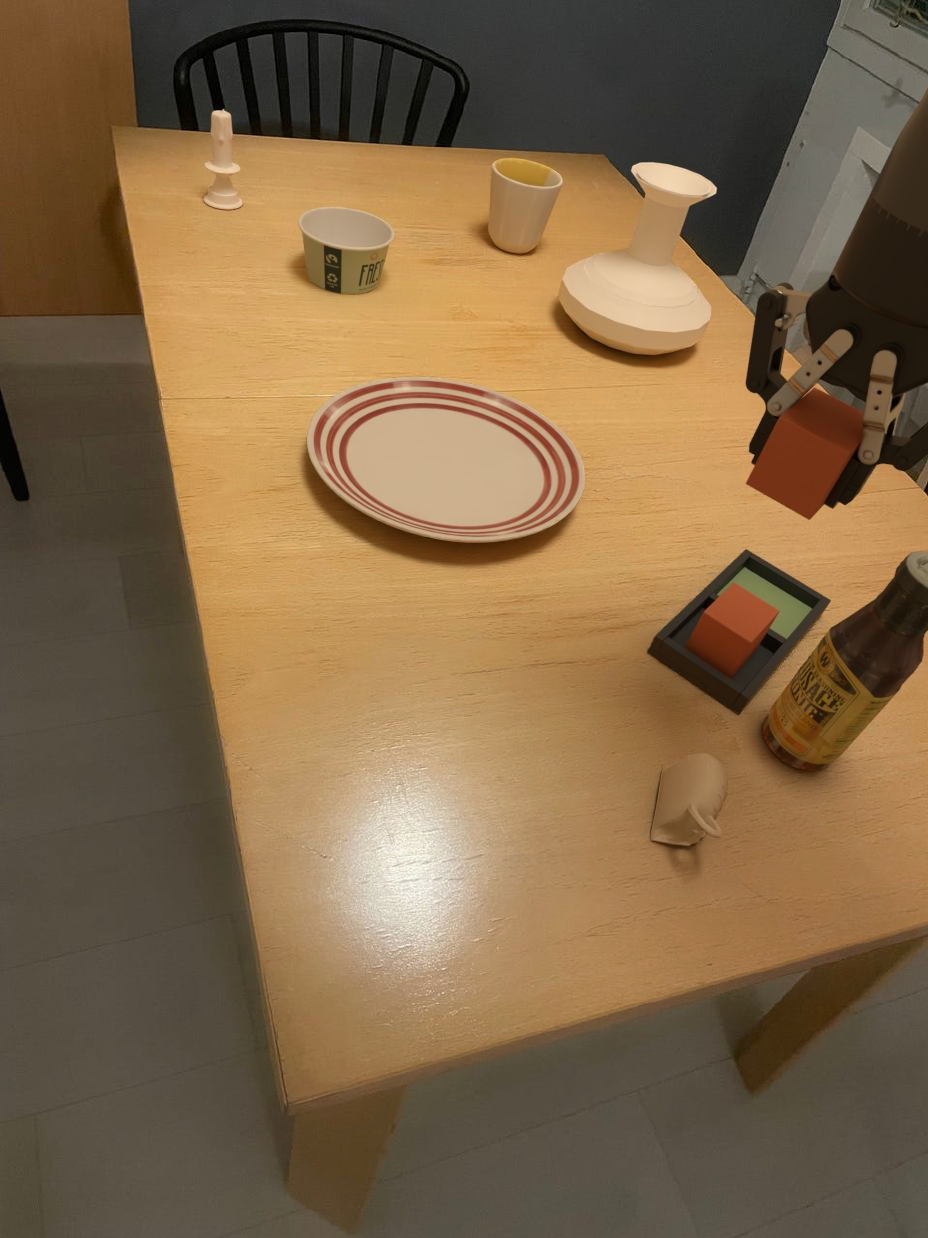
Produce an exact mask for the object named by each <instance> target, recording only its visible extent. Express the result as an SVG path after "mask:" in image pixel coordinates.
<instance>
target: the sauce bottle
mask: <svg viewBox="0 0 928 1238" xmlns="http://www.w3.org/2000/svg"><path fill="white" fill-rule="evenodd" d="M927 632H928V551H926V550H917V551H913V552H910V553H909V554H907V556H906V557H904V558H903V560H902V561H901V562H900V563H899V565H898V566H897V567H896V569H895V572H894V576H893V578H891V580H890V581H889V582H888V584H886V586H885V588H884V589H883V590H882V592H880V593H878V595H877V596H876V598H875V599H873V600H871V601H870V602H868V603H867V604H865V605H864V606H861V608H859V609H858V610H856V611H854V612H853V613H852V614H850V615H849V616H847V617H845V618H844V619H842V620H841V621H839V622H838V623H836V624H834V625H833V626H831V627H830V628H829V629H828V631H827V632H826V633H825V634H824V636H823V637H822V638H821V640H820V641H819V643H818V644H817V645H816V647H815V648H814V649H813V651H811V653H810V655H808V657H807V658H806V660H805V662H804V663H803V664H802V665H801V666H800V668H799V669H798V670H797V671H796V673H795V674H794V676H793V677H792V679H791V680H790V681H789V683H788V684H787V685H786V687H785V688H784V689H783V690H782V692H781V693H780V695H779V696H778V698H777V699H776V700H775V701H774V702H773V704H772V705H771V707H770V709H769V712H768V713H767V715H766V717H765V719H764V723H763V733H762V734H763V737H764V741H765V743H766V744H767V746H768V748H769V749H770V750H771V752H772V753H773V754H774V755H775V756H777V758H778V759H779V760H780V761H781V762H782V763H784V764H785V765H787V766H788V767H791V768H796V769H800V770H801V771H802V770H803V771H807V772H815V771H819V770H822V769H825V768H826V767H828V766H829V765H831V764H832V763H834V762H835V761H837V760H838V759H839V758H840V757H841V756H842V755H843V753H845V751H846V750H847V749H848V748H849V747H850V746H851V745H852V744H853V742H854V741H855V740H856V739H857V738H859V736H860V735H861V734H862V733H863V732H864V731H865V730H866V728H867V727H868V726H869V725H870V724H871V722H872V721H873V720H875V718H877V716H878V715H879V714H880V713H881V712H882V711H883V709H884V708H885V707H886V706H887V705H888V704H889V703H890V702H891V701H892V699H893V698H895V696H896V695H897V694H898V692H899V691H900V690H901V688H902V686H903V685H904V684H905V682H907V680H908V679H909V678H910V677H911V676H912V675H914V673H915V672H916V671H917V669H918V667H919V666H920V664H921V663H922V662H923V658H924V651H925V650H924V647H925V646H924V645H925V641H924V640H925V635H926V633H927Z"/></svg>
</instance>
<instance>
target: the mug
mask: <svg viewBox="0 0 928 1238" xmlns="http://www.w3.org/2000/svg"><path fill="white" fill-rule="evenodd" d="M563 184H564V179H563V177H562V175H561V174H560V173H559V172H557V171H556V170H555V169H553V168H551V167H549V166H547V165H544V164H542V163H539V162H536V161H533V160H529V159H524V158H517V157H505V158H499V159H496V160H494V161H493V162H492V164H491V172H490V185H489V186H490V189H489V208H488V210H489V212H488V213H489V214H488V223H487V224H488V225H487V231H488V235H489V237H490V238H491V241H492V243H493V244H494V245H495V246H496V248H498V249H500V250H502V251H505V252H507V253H511V254H516V255H517V254H518V255H520V254H521V255H522V254H527V253H528V252H530V251H532V250H533V249H534V248H536V247H537V246H538V245H539V244H540V242H541V240H542V238H543V235H544V233H545V230H546V228H547V227H546V226H547V224H548V222H549V219H550V217H551V214H552V212H553V209H554V207H555V204H556V202H557V199H558V197H559V194H560V192H561V188H562V186H563Z"/></svg>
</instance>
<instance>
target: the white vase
mask: <svg viewBox="0 0 928 1238" xmlns="http://www.w3.org/2000/svg"><path fill="white" fill-rule="evenodd" d="M630 172H631V174H632V175H633V176H634V178H635V180H636V181H637V182H638V184H639V185H640V188H641V189H642V190H643V192H644V193H645V195H644V197H643V200H642V204H641V208H640V211H639V214H638V217H637V220H636V224H635V227H634V230H633V234H632V236H631V239H630V243H629V246H628V247H625V248H619V249H615V250H610V251H604V252H600V253H596V254H593V255H592V256H589V257H586V258H583V259H581V260H578V261H577V262H575V263H573V264H570V265H569V266H568V267H566V269H565V272H564V274H563V276H562V279H561V282H560V286H559V289H558V293H557V299H559V303H560V304H561V306H562V308H563V310H564V312H565V313H566V314H567V316H568V317H569V318H570V319H571V320H572V322H573V323H574V324H575V325H576V327H577V328H578V329H580V330H581V331H582V332H583V333H585V334H586V335H587V336H588V337H589V338H590V339H592V340H594V341H596V342H599V343H601V344H603V345H604V346H606V347H609V348H611V349H615V350H619V351H623V352H625V353H629V354H632V355H633V354H634V355H648V356H657V355H663V354H669V353H673V352H676V351H680V350H684V349H688V348H691V347H693V346H694V345H695V344H696V343H698V342H699V341H700V340H701V339H702V338H704V336H705V334H706V331H707V329H708V326H709V324H710V321H711V317H712V309H713V308H712V307H713V306H712V305H711V303H709V301H708V300H707V299H706V297H705V296H704V294H703V293H702V291H701V290H700V288H699V287H698V286H697V283H696V282H695V281H694V279H692V278H691V277H690V276H689V275H688V274H687V273H686V272H685V271H683V270H682V269H681V268H680V267H679V266H678V265H677V264H676V263H675V262H674V261H673V260H672V259H673V256H674V252H675V250H676V247H677V244H678V241H679V239H680V236H681V232H682V229H683V226H684V223H685V221H686V219H687V215H688V212H689V209H690V206H692V205H694V204H697V203H699V202H702V201H704V200H706V199H708V198H710V197H712V196H714V195H716V194H717V190H718V188H717V186H716V185H715V184H714V183H713V181H711V180H709V179H707V178H706V177H705V176H703V175H701V174H699V173H697V172H695V171H692V170H689V169H687V168H684V167H680V166H677V165H672V164H668V163H661V162H653V161H651V162H649V161H648V162H638V163H636V164H634V165H632V167H631V169H630Z"/></svg>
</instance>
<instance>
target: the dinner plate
mask: <svg viewBox="0 0 928 1238" xmlns="http://www.w3.org/2000/svg"><path fill="white" fill-rule="evenodd" d="M306 447H307V453H308V456H309V459H310V462H311V465H312V466H313V468H314V470H315V471H316V473H317V474H318V477H319V478H320V479H321V480H322V481H323V482H324V484H325V485H326V486H327V487H328V488H329V489H330V490H331V491H332V492H334V493H335V495H337V496H338V497H339V498H340V499H341V500H343V501H344V502H346V503H347V504H348V505H350V506H352V507H353V508H354V509H356V510H358V511H359V512H361V513H363V514H364V515H366V516H368V517H370V518H371V519H374V520H376V521H379V522H381V523H383V524H385V525H387V526H389V527H392V528H395V529H397V530H399V531H400V530H401V531H403V532H406V533H410V534H413V535H417V536H421V537H425V538H431V539H435V540H440V541H448V542H456V543H457V542H458V543H470V544H471V543H472V544H473V543H475V544H477V543H478V544H482V543H495V542H504V541H510V540H516V539H521V538H524V537H528V536H531V535H534V534H537V533H539V532H542V531H544V530H546V529H548V528H551V527H553V526H555V525H556V524H557V523H559V522H560V521H562V520H563V519H565V517H567V516H568V515H569V514H570V513H571V512H572V511H573V510H574V508H576V506H577V504H578V503H579V502H580V500H581V498H582V496H583V493H584V490H585V485H586V472H585V471H586V470H585V466H584V461H583V460H582V457H581V455H580V453H579V450H578V448H577V447H576V446H575V444H574V443H573V441H572V440H571V439H570V437H569V436H568V435H567V434H566V433H565V432H564V431H563V429H561V428H560V427H559V426H558V425H557V424H555V423H554V422H553V421H552V420H550V419H549V418H548V417H547V416H546V415H543V414H542V413H541V412H539V411H538V410H536V409H535V408H533V407H532V406H529V404H526V403H525V402H523V401H521V400H519V399H516V398H514V397H512V396H510V395H507V394H505V393H502V392H500V391H496V390H494V389H491V388H487V387H485V386H482V385H477V384H473V383H468V382H466V381H465V382H464V381H460V380H454V379H448V378H439V377H431V376H430V377H429V376H427V377H426V376H399V377H389V378H382V379H376V380H371V381H366V382H364V383H359V384H357V385H354V386H350V387H348V388H346V389H344V390H342V391H340V392H339V393H336V394H334V395H333V396H332V397H331V398H329V399H328V400H327V401H325V402H324V403H322V405H321V406H320V407H319V408H318V410H316V412H315V414H314V415H313V417H312V418H311V420H310V422H309V425H308V429H307V433H306Z"/></svg>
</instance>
